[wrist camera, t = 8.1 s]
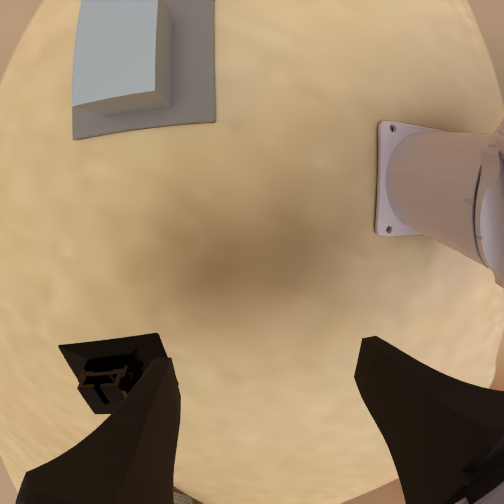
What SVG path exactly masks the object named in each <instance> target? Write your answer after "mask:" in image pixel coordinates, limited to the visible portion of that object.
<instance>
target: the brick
mask: <svg viewBox="0 0 504 504" xmlns="http://www.w3.org/2000/svg"><path fill="white" fill-rule="evenodd" d="M172 27H173V19H172V16H171V13H170V10H169V7H168V4H167V1H166V0H81V5H80V11H79V17H78V24H77V31H76V40H75V49H74V61H73V76H72V107H75V108H79V109H83V110H86V111H90V112H94V113H97V114H101V115H104V116H113V115H119V114H125V113H131V112H138V111H145V110H152V109H160V108H169V107H172Z"/></svg>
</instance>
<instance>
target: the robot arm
mask: <svg viewBox="0 0 504 504" xmlns="http://www.w3.org/2000/svg"><path fill="white" fill-rule="evenodd" d="M390 126H392V127H393V131H392V132H391V130H390ZM388 226H389V227H390V228H389V230H388V231H387V232H386V229H387V227H388ZM375 232H376V234H378V235H379V236H382V237H385V236H405V235H426V236H428V237H430V238H432V239H434V240H436V241H438V242H440V243H442V244H444V245H446V246H448V247H450V248H452V249H454V250H456V251H458V252H460V253H461V254H463V255H465V256H467V257H469V258H471V259H473V260H474V261H476V262H478V263H480V264H482V265H483V266H485V267H487V268H489V269H491V270H492V271H493V273H494V275H495V282H496V284H498V285H499V286H501V287H503V288H504V118H503V120H502V122H501V124H500V125H499V126H498V127H497V129H496V131H495V134H481V133H458V132H447V131H443V130H438V129H433V128H428V127H423V126H417V125H412V124H406V123H400V122H393V121H381V122H380V123H379V125H378V188H377V208H376V223H375ZM354 378H355V381H356V384H357V387H358V389H359V392H360V394H361V397H362V399H363V401H364V403H365V404H366V406H367V408H368V410H369V412H370V414H371V415H372V417H373V419H374V421H375V422H376V424H377V426H378V428H379V430H380V431H381V433H382V435H383V437H384V439H385V441H386V443H387V445H388V448H389V450H390V453H391V456H392V458H393V461H394V464H395V467H396V470H397V473H398V476H399V479H400V482H401V486H402V490H403V494H404V497H405V502H406V504H504V391H498V390H492V389H487V388H483V387H479V386H476V385H472V384H469V383H466V382H463V381H460V380H457V379H455V378H452V377H450V376H447V375H445V374H443V373H441V372H439V371H437V370H435V369H433V368H431V367H429V366H427V365H425V364H423V363H421V362H419V361H418V360H416V359H414V358H413V357H411V356H409V355H407V354H406V353H404V352H402V351H401V350H399V349H398V348H396V347H394V346H393V345H391V344H389V343H388V342H386V341H384V340H382V339H381V338H379V337H377V336H373V337H367V338H362V342H361V347H360V352H359V357H358V361H357V366H356V370H355V375H354ZM180 410H181V396H180V392H179V388H178V384H177V380H176V375H175V371H174V367H173V363H172V358H155V359H154V360H153V361H152V362H151V364H150V365H149V367H148V368H147V370H146V371H145V373H144V374H143V375H142V377H141V378H140V380H139V381H138V382H137V384H136V385H135V386H134V388H133V389H132V390H131V391H130V393H129V394H128V395H127V397H126V398H125V399H124V400H123V401H122V402H121V404H120V405H119V406H118V407H117V408H116V409H115V411H114V412H113V413H112V414H111V415H110V416H109V417H108V418H107V419H106V420H105V421H104V422H103V423H102V424H101V425H100V426H99V427H98V428H97V429H96V430H94V431H93V432H92V433H91V434H90V435H88V436H87V437H86V438H85V439H83V440H82V441H81V442H79V443H78V444H77V445H76V446H74V447H73V448H71V449H70V450H68V451H67V452H65V453H63V454H62V455H60V456H58V457H57V458H55V459H53V460H51V461H50V462H48V463H46V464H43V465H41V466H39V467H37V468H35V469H33V470H30V471H28V472H26V474H25V476H24V479H23V481H22V484H21V487H20V490H19V493H18V496H17V499H16V504H174V497H173V473H174V462H175V455H176V447H177V440H178V433H179V425H180Z"/></svg>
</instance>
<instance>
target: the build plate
mask: <svg viewBox="0 0 504 504" xmlns="http://www.w3.org/2000/svg"><path fill="white" fill-rule="evenodd" d="M58 347H59V349H60V351H61V352H62V354H63V356H64V358H65V359H66V361H67V363H68V364H69V366H70V368H71V369H72V371H73V373H74V374H75V376H76V377H77V379H78V382H79V385H78V388H77V389H78V390H79V392H80V393H81V395H82V396H83V398H84V399H85V401H86V402H87V404H88V405H89V406H90V408H91V409H92V411H93V412H94V413H95V414H112V413H113V412H114V411H115V409H116V408H117V407H118V406H119V405H120V404H121V402H122V401H123V400H124V399H125V398H126V397H127V395H128V394H129V393H130V391H131V390H132V389H133V388H134V386H135V385H136V384H137V382H138V381H139V380H140V378H141V377H142V375H143V374H144V373H145V371H146V370H147V368H148V367H149V365H150V364H151V362H152V361H153V360H154V359H155V358H168V357H167V354H166V352H165V349H164V347H163V344H162V342H161V339H160V336H159V334H158V333H152V334H145V335H138V336H131V337H124V338H117V339H109V340H101V341H93V342H84V343H75V344H65V345H59V346H58ZM176 380H177V379H176ZM177 384H178V385H179V383H178V381H177Z"/></svg>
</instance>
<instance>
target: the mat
mask: <svg viewBox="0 0 504 504" xmlns="http://www.w3.org/2000/svg"><path fill="white" fill-rule="evenodd" d="M166 1H167V4H168V7H169V10H170V13H171V16H172V19H173V27H172V107H169V108H160V109H152V110H145V111H138V112H131V113H125V114H119V115H113V116H104V115H101V114H97V113H94V112H90V111H86V110H83V109H79V108H75V107H72V122H73V140H80V139H85V138H90V137H96V136H101V135H107V134H113V133H119V132H125V131H132V130H139V129H147V128H155V127H164V126H174V125H185V124H197V123H213V122H215V84H214V0H166Z"/></svg>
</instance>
